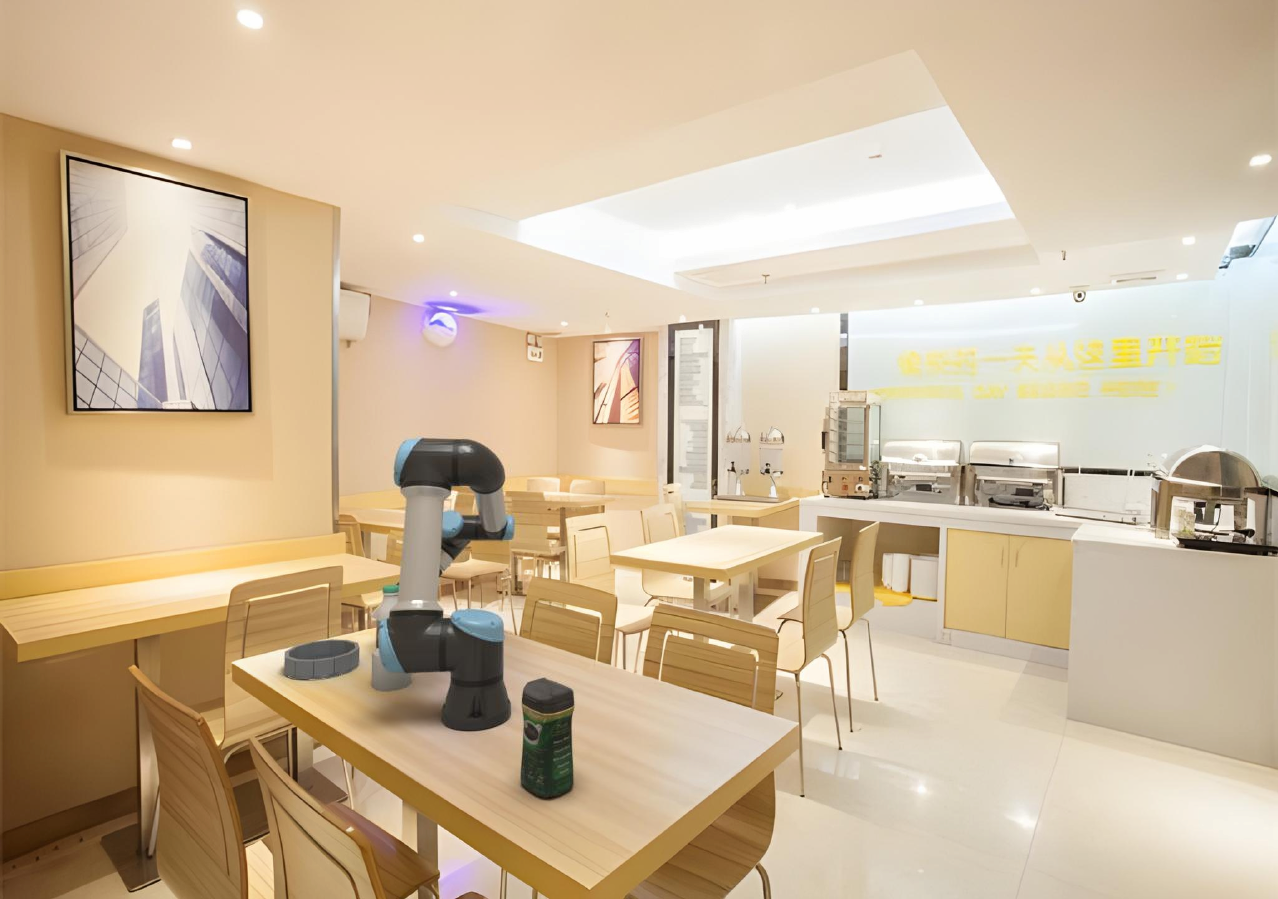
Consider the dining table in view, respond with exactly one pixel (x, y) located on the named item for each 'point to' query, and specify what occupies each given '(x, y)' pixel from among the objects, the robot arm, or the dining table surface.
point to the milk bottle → (386, 605)
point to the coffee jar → (547, 737)
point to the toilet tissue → (387, 676)
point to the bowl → (321, 659)
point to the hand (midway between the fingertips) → (382, 623)
